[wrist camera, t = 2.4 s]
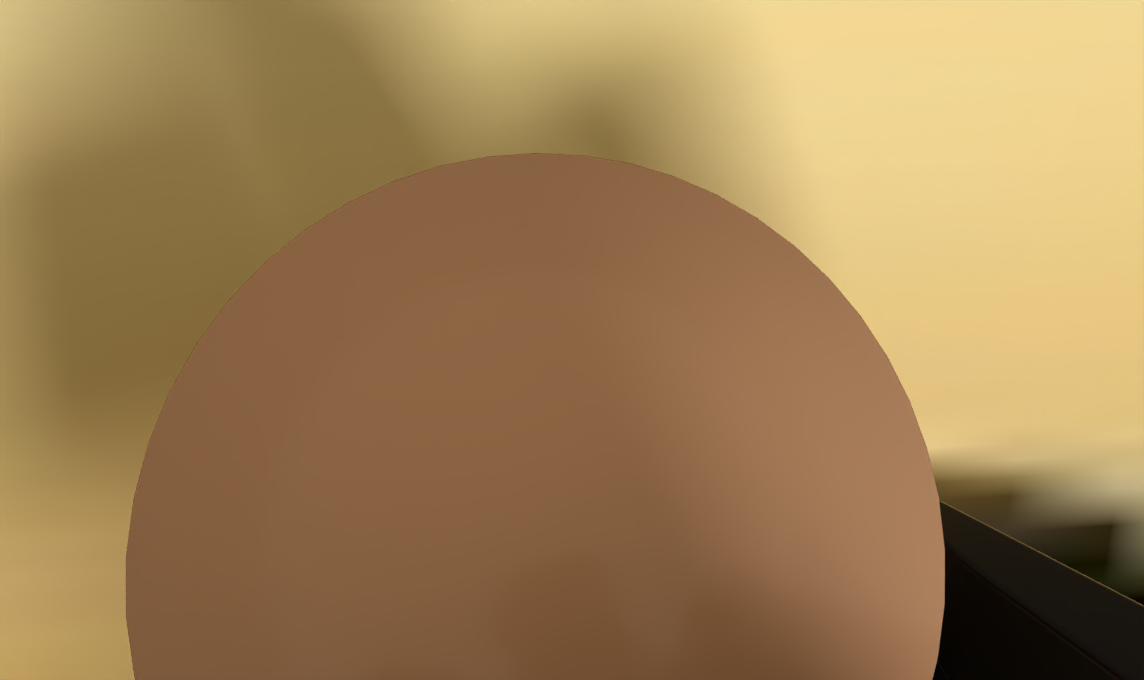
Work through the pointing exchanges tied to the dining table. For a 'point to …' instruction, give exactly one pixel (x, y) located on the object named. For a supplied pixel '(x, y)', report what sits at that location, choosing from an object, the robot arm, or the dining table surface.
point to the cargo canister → (536, 451)
